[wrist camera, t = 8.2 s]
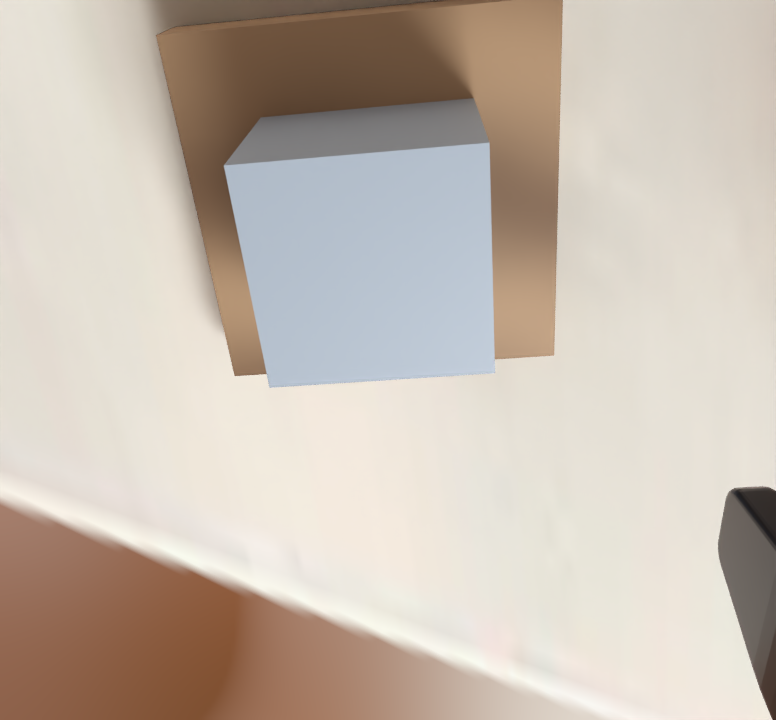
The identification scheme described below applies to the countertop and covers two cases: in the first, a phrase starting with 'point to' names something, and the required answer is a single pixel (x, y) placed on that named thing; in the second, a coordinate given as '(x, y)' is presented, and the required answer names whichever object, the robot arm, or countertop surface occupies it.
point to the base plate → (375, 89)
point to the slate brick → (368, 242)
